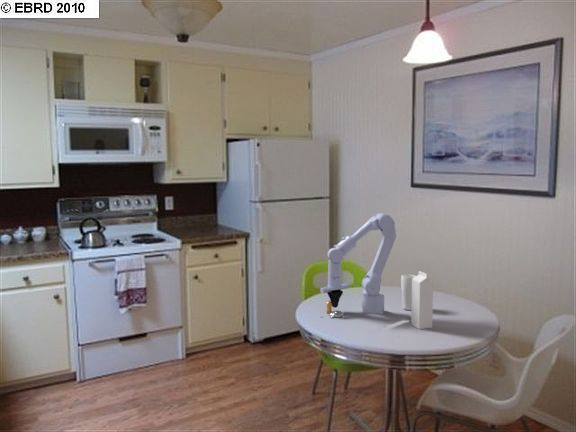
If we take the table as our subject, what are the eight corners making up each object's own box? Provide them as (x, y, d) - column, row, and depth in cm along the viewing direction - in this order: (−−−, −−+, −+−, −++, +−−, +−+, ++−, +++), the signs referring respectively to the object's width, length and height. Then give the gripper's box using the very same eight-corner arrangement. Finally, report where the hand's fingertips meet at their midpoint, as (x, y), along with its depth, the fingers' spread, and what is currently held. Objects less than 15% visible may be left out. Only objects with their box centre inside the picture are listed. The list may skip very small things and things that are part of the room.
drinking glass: (399, 310, 215) (399, 277, 214) (401, 305, 222) (402, 273, 220) (415, 311, 213) (415, 278, 211) (417, 307, 219) (417, 274, 217)
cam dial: (351, 316, 204) (351, 304, 203) (338, 320, 198) (338, 308, 198) (333, 310, 211) (333, 299, 211) (320, 314, 206) (320, 303, 205)
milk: (419, 329, 191) (419, 274, 188) (410, 324, 196) (411, 271, 194) (432, 327, 192) (433, 273, 190) (424, 322, 198) (425, 270, 196)
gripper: (341, 272, 215) (341, 301, 217) (315, 276, 207) (315, 307, 209) (352, 274, 210) (351, 305, 211) (326, 279, 201) (326, 311, 203)
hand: (334, 306), depth 210 cm, fingers closed
